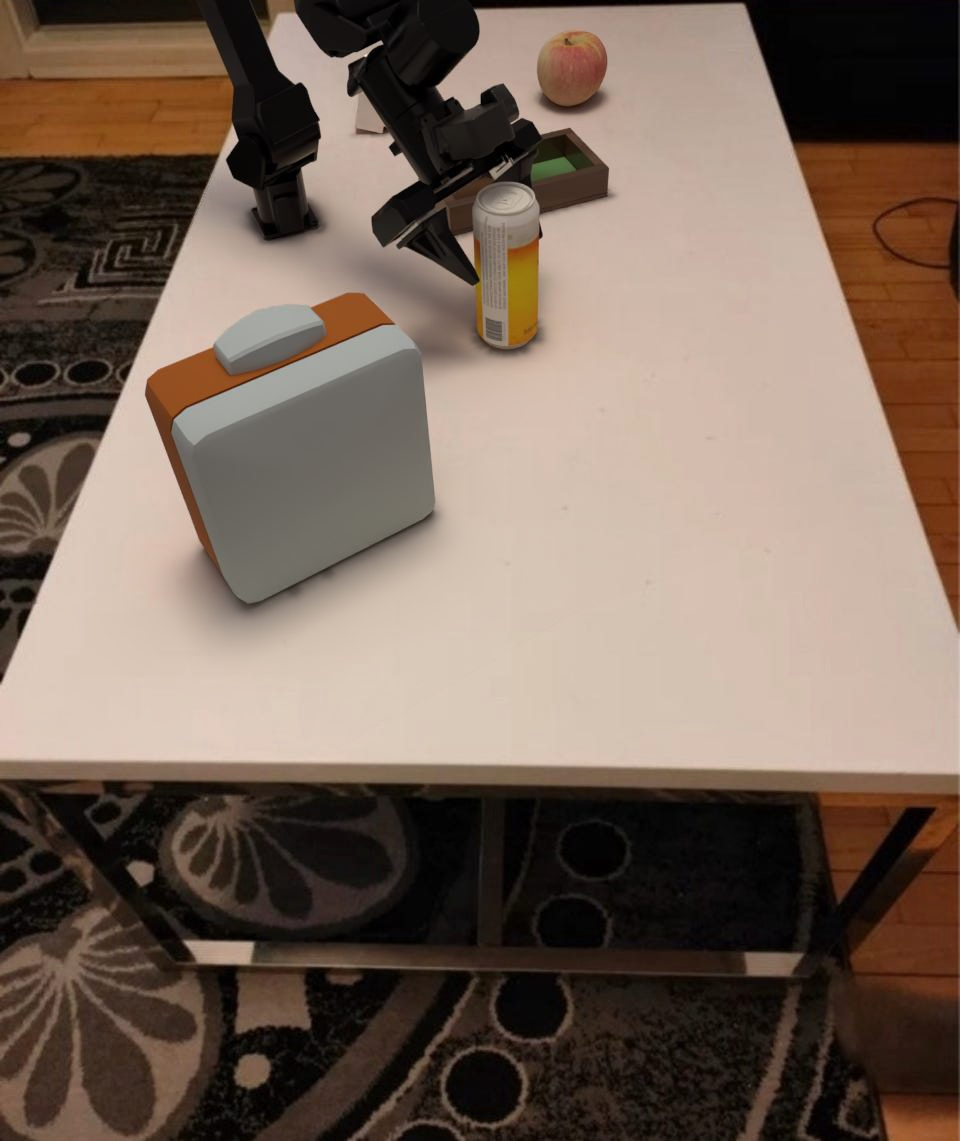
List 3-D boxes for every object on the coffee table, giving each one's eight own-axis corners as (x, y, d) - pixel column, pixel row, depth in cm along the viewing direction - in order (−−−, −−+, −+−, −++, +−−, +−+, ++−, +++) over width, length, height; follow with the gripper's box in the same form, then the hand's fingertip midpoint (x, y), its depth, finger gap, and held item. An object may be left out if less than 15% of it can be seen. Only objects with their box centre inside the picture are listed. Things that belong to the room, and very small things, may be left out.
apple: (615, 94, 134) (620, 31, 127) (579, 122, 129) (582, 58, 123) (560, 78, 137) (562, 15, 131) (523, 104, 132) (523, 41, 126)
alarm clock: (388, 456, 91) (360, 257, 75) (440, 514, 86) (422, 315, 71) (199, 545, 85) (125, 349, 69) (244, 613, 80) (175, 420, 64)
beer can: (545, 321, 103) (547, 184, 92) (527, 357, 100) (527, 220, 88) (488, 310, 105) (484, 175, 93) (469, 346, 101) (462, 209, 89)
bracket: (409, 139, 130) (420, 81, 124) (354, 127, 128) (363, 68, 123) (412, 91, 138) (422, 35, 132) (360, 80, 136) (369, 22, 131)
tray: (419, 191, 120) (417, 163, 117) (568, 155, 124) (570, 127, 121) (451, 236, 114) (449, 207, 111) (607, 196, 118) (609, 167, 115)
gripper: (379, 107, 80) (488, 276, 84) (527, 26, 89) (620, 182, 93) (326, 169, 90) (426, 319, 94) (465, 90, 99) (551, 230, 102)
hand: (508, 261), depth 95 cm, fingers open, 9 cm apart
